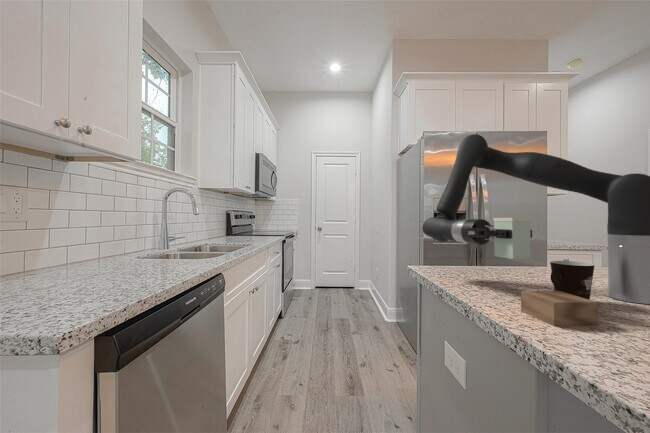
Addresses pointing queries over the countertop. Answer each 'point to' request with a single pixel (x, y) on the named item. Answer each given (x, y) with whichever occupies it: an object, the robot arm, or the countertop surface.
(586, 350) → the countertop surface
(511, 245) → the tea tin
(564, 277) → the coffee mug
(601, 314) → the countertop surface
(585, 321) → the walnut box
